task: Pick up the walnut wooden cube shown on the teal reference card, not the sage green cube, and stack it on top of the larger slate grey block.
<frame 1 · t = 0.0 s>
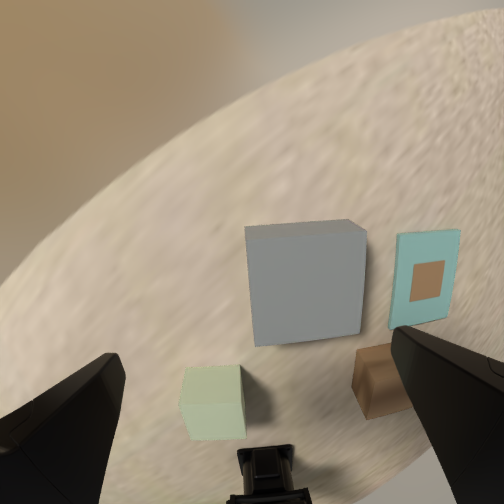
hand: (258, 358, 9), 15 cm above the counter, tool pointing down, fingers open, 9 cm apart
walnut cube: (376, 364, 28), on the counter
reference card: (424, 278, 25), on the counter
slate block: (298, 271, 24), on the counter
sage cube: (216, 385, 27), on the counter
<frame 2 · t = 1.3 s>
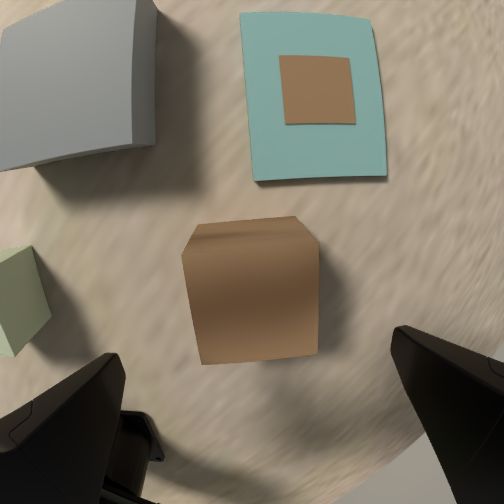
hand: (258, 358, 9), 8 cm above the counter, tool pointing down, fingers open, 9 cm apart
walnut cube: (250, 265, 17), on the counter
reference card: (315, 90, 14), on the counter
slate block: (89, 86, 13), on the counter
sage cube: (17, 283, 16), on the counter
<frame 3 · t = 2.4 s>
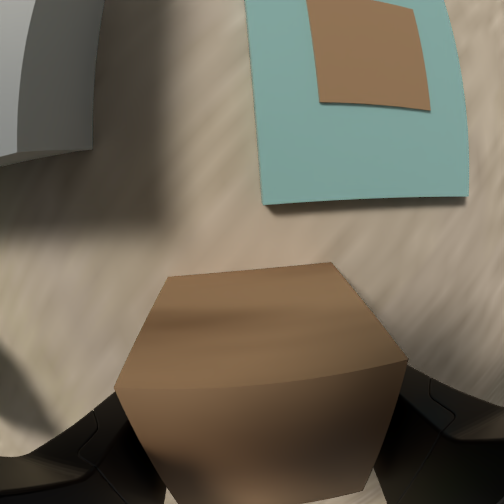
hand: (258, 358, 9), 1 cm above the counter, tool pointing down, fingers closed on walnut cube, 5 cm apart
walnut cube: (255, 339, 10), on the counter, touching gripper
reference card: (365, 53, 7), on the counter
slate block: (13, 62, 7), on the counter
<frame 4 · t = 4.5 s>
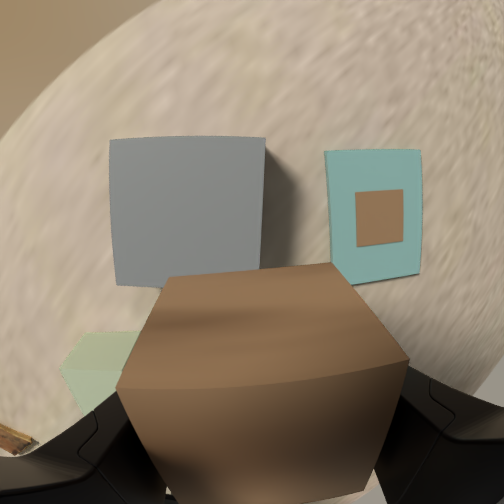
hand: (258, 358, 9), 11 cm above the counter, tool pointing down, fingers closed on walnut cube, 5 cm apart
walnut cube: (256, 339, 10), point 10 cm above the counter, touching gripper
reference card: (377, 216, 20), on the counter
slate block: (193, 204, 19), on the counter
sage cube: (121, 357, 22), on the counter
shard: (4, 426, 26), on the counter
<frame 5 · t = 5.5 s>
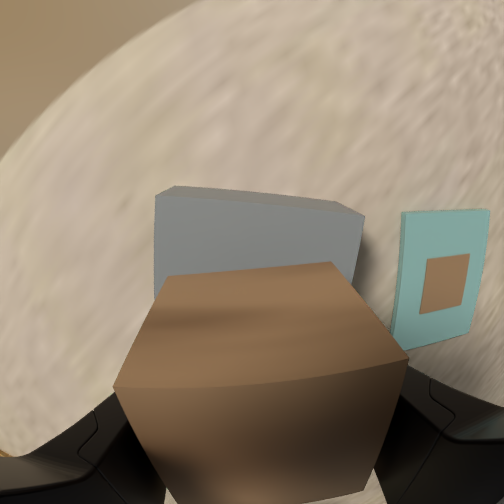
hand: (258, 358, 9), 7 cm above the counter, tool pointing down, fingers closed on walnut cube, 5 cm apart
walnut cube: (255, 339, 10), point 6 cm above the counter, touching gripper
reference card: (441, 280, 17), on the counter
slate block: (248, 268, 16), on the counter
when the fingers open (6 cm above the counter, at t = 6.5 s): walnut cube drops 1 cm, point 4 cm above the counter.
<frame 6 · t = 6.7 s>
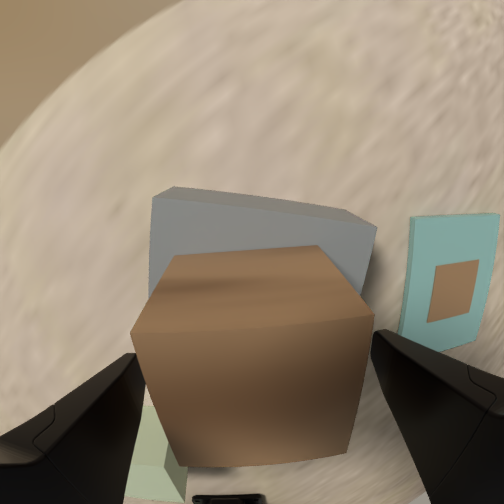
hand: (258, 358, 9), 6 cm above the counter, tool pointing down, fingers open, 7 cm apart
walnut cube: (250, 314, 11), point 4 cm above the counter
reference card: (449, 287, 16), on the counter
slate block: (249, 276, 15), on the counter
sage cube: (149, 427, 18), on the counter
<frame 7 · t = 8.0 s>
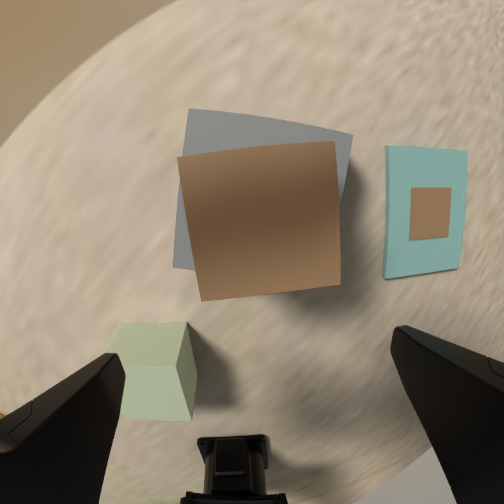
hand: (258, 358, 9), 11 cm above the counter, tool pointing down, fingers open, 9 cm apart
walnut cube: (256, 199, 15), point 4 cm above the counter, touching slate block
reference card: (427, 211, 19), on the counter
slate block: (256, 189, 18), on the counter, touching walnut cube
sage cube: (160, 350, 22), on the counter
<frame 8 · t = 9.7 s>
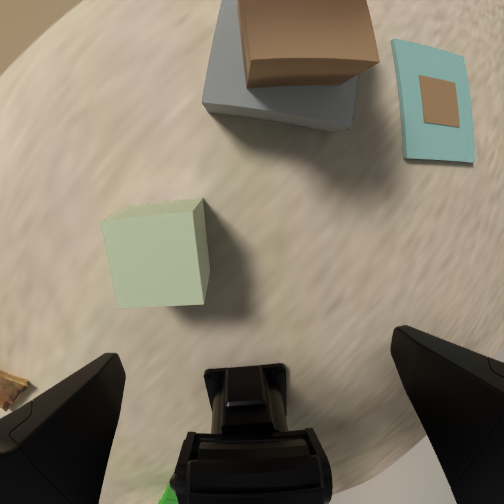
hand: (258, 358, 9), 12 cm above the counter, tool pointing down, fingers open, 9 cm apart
walnut cube: (288, 44, 13), point 4 cm above the counter
reference card: (436, 102, 18), on the counter
slate block: (279, 65, 17), on the counter
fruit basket: (185, 491, 31), on the counter
sage cube: (170, 238, 20), on the counter
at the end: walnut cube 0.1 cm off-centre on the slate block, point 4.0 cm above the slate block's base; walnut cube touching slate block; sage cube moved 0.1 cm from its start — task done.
